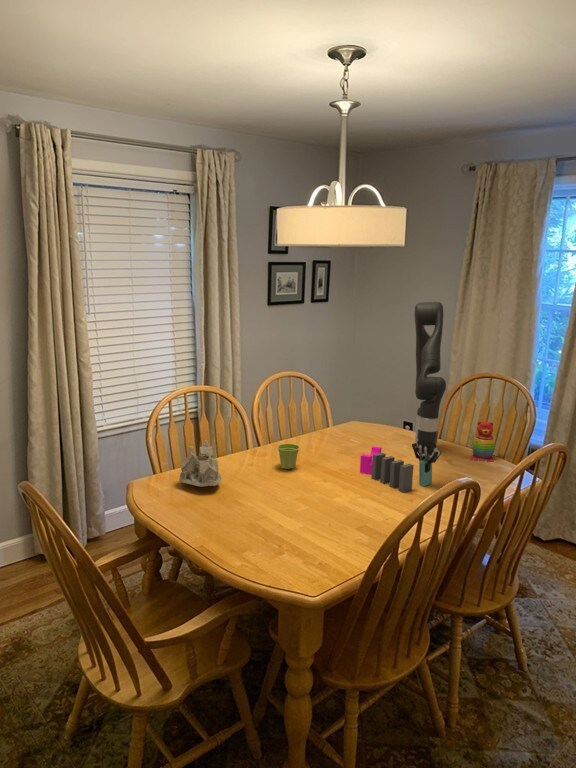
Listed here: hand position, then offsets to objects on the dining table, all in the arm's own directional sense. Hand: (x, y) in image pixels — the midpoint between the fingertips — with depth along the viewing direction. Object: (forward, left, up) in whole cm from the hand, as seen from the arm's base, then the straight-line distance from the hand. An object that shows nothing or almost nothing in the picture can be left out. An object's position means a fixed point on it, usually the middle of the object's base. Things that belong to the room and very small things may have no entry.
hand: (424, 471), depth 217 cm
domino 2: (+10, -10, -6) cm, 15 cm away
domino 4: (+10, 0, -6) cm, 12 cm away
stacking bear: (-45, -7, -6) cm, 46 cm away
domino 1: (+10, -15, -6) cm, 19 cm away
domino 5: (-1, 0, -6) cm, 6 cm away
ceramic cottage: (+73, -47, -6) cm, 87 cm away
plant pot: (+34, -44, -6) cm, 56 cm away
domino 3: (+10, -5, -6) cm, 13 cm away
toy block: (+4, -24, -6) cm, 25 cm away
